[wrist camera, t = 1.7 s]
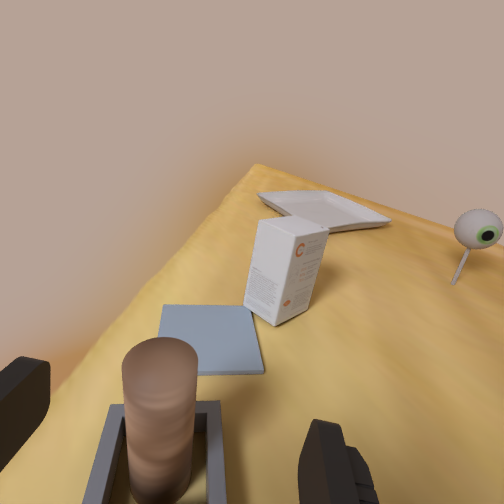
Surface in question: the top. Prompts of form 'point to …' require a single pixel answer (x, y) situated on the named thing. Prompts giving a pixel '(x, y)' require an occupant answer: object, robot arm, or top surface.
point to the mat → (215, 337)
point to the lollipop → (476, 232)
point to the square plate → (324, 209)
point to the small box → (284, 267)
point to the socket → (116, 430)
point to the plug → (160, 417)
